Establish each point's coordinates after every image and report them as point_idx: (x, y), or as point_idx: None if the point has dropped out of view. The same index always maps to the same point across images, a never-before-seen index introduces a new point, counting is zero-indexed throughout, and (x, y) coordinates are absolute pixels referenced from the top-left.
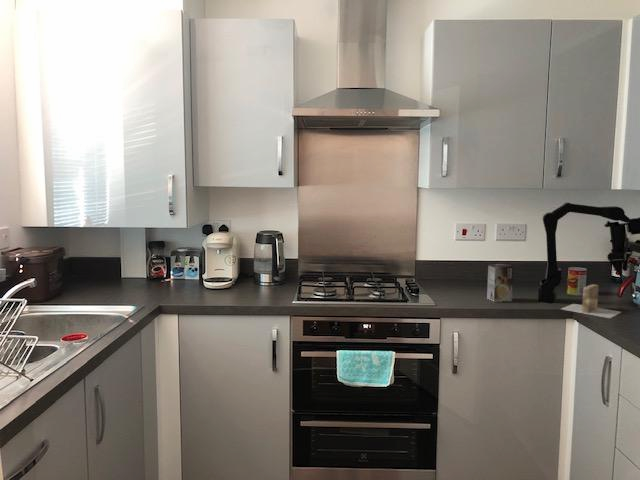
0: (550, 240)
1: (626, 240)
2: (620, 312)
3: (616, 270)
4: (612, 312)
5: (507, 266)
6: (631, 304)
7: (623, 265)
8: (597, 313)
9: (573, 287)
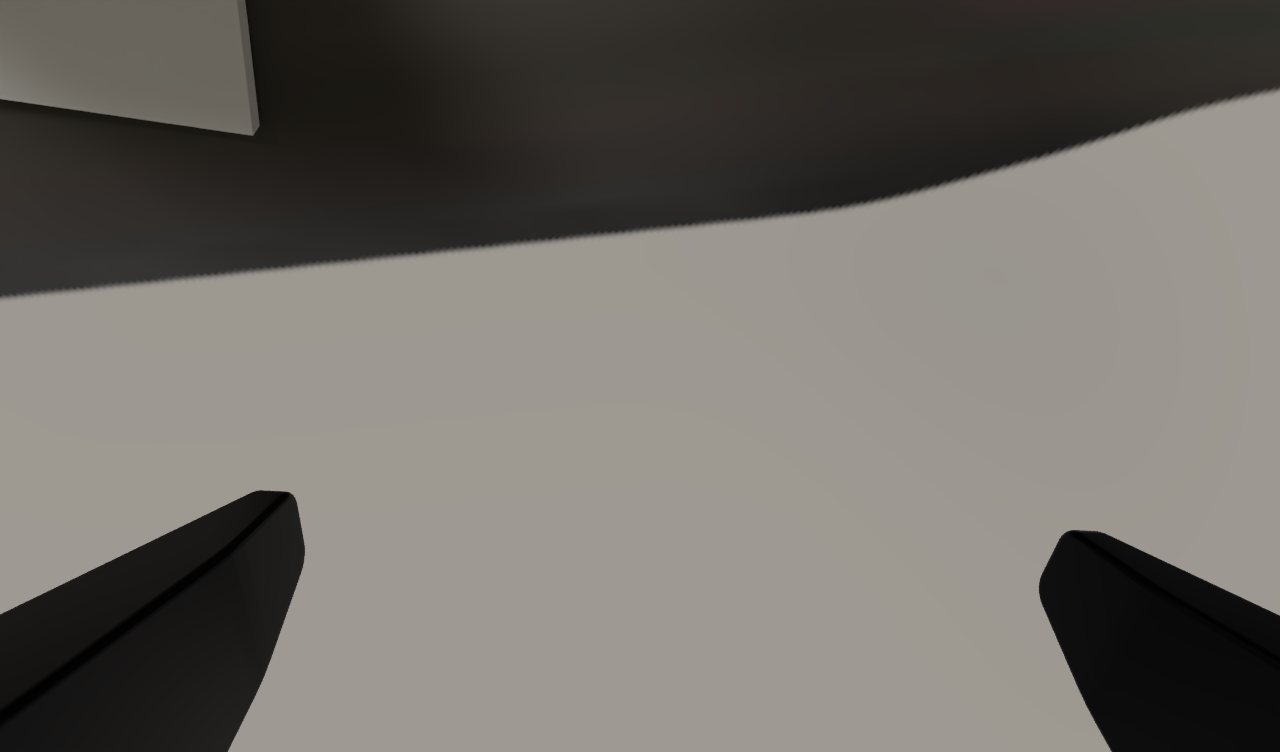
0: None
1: None
2: (193, 123)
3: (73, 592)
4: (62, 16)
5: None
6: (973, 163)
7: (1186, 704)
8: None
9: None
